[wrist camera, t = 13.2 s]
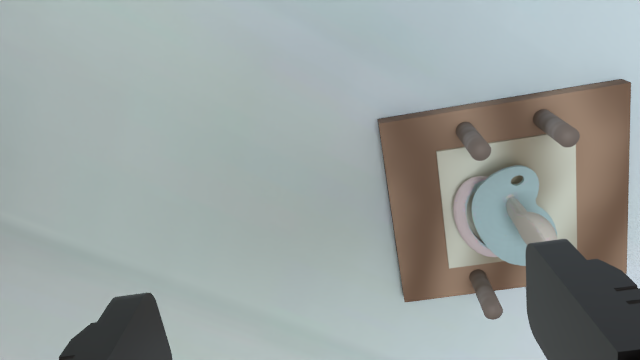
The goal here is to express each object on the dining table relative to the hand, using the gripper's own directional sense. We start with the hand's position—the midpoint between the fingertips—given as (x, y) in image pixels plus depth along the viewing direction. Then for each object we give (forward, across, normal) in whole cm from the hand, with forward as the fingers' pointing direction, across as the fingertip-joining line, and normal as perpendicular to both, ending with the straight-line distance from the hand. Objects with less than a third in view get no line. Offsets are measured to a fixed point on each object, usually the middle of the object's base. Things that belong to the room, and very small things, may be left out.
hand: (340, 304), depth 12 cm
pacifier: (+25, -10, +10) cm, 29 cm away
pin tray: (+26, -11, +10) cm, 30 cm away
